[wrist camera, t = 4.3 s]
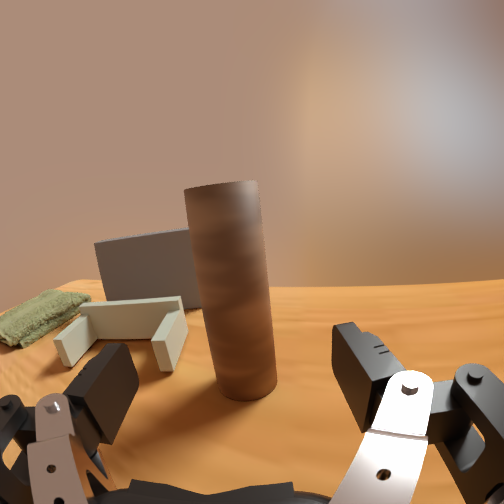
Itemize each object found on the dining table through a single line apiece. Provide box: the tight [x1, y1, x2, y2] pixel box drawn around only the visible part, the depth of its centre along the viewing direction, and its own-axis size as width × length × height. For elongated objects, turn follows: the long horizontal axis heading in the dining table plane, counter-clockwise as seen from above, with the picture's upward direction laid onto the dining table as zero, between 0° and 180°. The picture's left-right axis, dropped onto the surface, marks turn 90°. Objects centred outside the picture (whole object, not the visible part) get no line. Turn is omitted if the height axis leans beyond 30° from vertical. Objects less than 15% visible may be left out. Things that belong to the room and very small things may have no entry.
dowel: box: [184, 181, 277, 401], centre depth 18 cm, size 4×4×14 cm
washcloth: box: [0, 289, 91, 349], centre depth 31 cm, size 13×18×3 cm
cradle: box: [53, 296, 188, 371], centre depth 23 cm, size 12×7×4 cm, turn 92°
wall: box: [94, 228, 202, 309], centre depth 34 cm, size 14×2×10 cm, turn 92°
